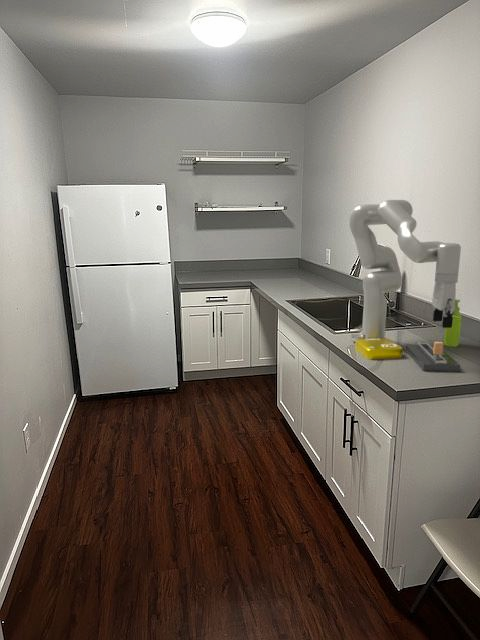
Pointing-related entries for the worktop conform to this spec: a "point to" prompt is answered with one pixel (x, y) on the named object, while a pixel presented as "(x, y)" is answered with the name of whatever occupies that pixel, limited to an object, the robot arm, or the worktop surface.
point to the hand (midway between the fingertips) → (442, 324)
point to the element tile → (378, 348)
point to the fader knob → (437, 350)
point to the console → (431, 358)
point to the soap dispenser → (453, 328)
